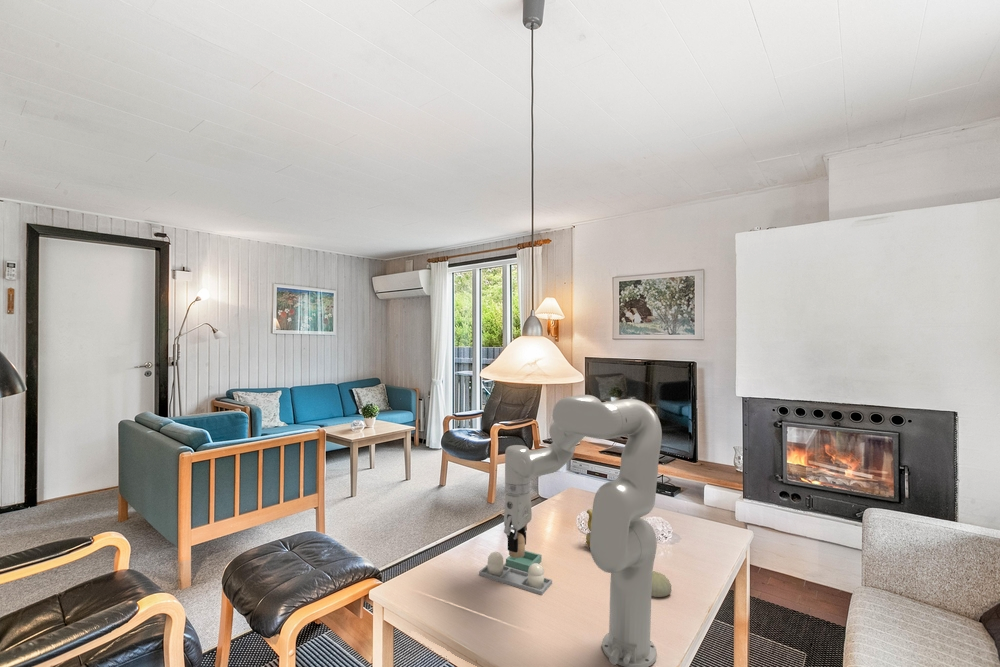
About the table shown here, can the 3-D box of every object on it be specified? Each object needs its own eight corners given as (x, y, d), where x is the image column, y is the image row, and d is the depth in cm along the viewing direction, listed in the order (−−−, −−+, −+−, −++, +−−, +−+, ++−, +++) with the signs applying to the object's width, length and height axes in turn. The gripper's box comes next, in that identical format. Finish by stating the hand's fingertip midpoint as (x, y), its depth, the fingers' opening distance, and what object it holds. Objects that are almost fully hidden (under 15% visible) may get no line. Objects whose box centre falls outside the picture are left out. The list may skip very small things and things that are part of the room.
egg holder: (530, 574, 150) (530, 566, 150) (505, 567, 154) (505, 559, 154) (541, 562, 157) (541, 555, 157) (518, 556, 161) (518, 548, 161)
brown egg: (520, 559, 142) (520, 537, 142) (506, 555, 144) (506, 534, 144) (527, 552, 146) (527, 531, 146) (513, 549, 148) (513, 528, 148)
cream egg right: (539, 591, 139) (540, 569, 139) (524, 586, 141) (525, 565, 141) (546, 583, 143) (546, 562, 143) (531, 579, 146) (532, 558, 146)
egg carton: (541, 596, 137) (542, 591, 137) (478, 576, 148) (479, 571, 148) (552, 584, 144) (552, 579, 144) (491, 566, 154) (491, 561, 154)
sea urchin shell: (652, 596, 135) (641, 566, 141) (641, 605, 141) (631, 576, 146) (680, 592, 138) (668, 563, 143) (668, 600, 143) (657, 572, 149)
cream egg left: (498, 578, 146) (498, 557, 146) (484, 574, 148) (485, 553, 148) (505, 571, 150) (506, 551, 150) (492, 567, 152) (492, 547, 152)
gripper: (515, 497, 136) (515, 562, 136) (540, 481, 151) (539, 539, 151) (492, 493, 140) (492, 556, 140) (519, 478, 154) (518, 534, 154)
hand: (516, 547), depth 145 cm, fingers closed on brown egg, 4 cm apart
